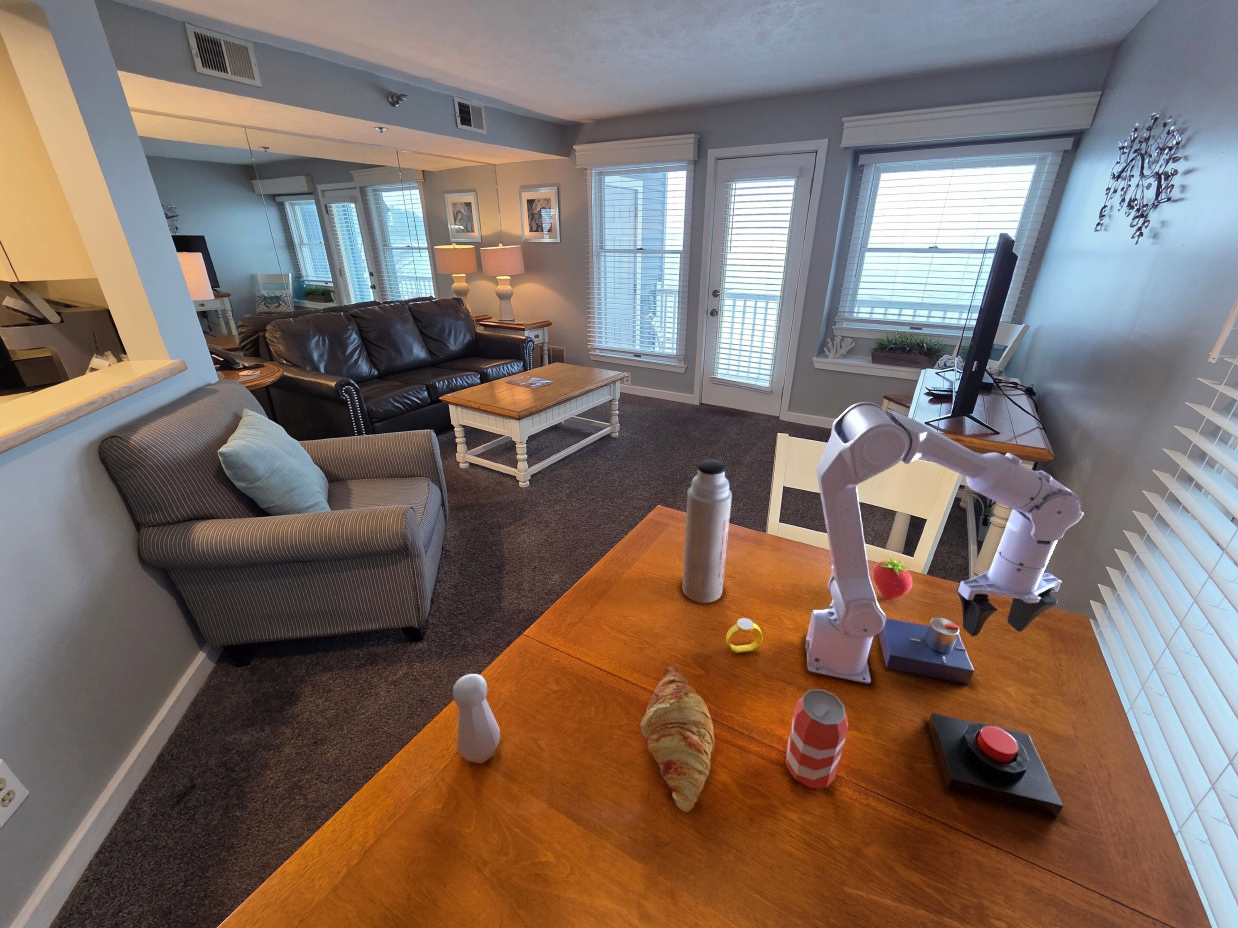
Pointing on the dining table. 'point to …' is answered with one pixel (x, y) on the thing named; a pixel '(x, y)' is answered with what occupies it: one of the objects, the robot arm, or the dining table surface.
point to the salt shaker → (475, 720)
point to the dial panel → (922, 653)
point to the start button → (997, 744)
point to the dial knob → (941, 635)
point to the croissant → (679, 737)
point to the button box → (992, 767)
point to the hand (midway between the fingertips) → (992, 629)
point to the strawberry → (892, 579)
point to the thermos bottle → (706, 532)
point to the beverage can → (816, 738)
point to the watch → (744, 626)
